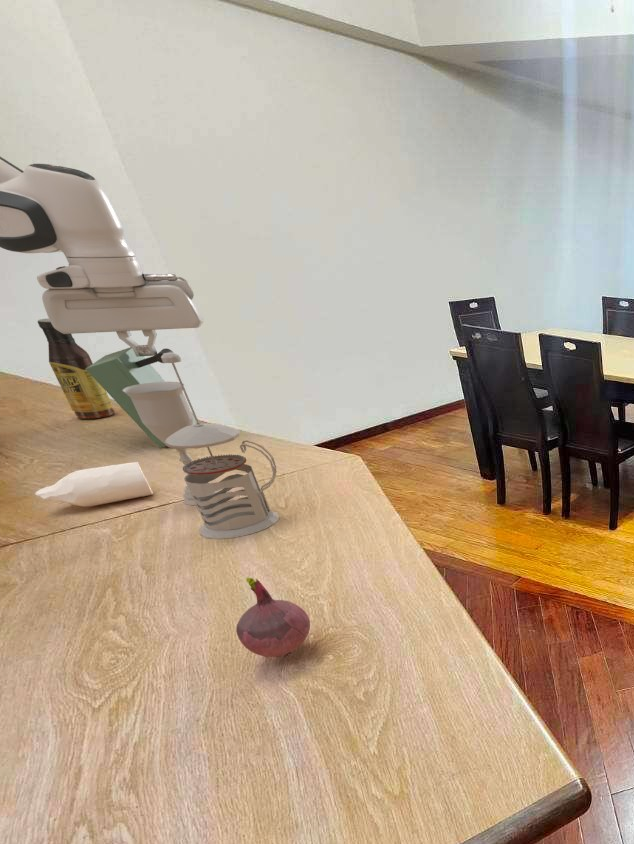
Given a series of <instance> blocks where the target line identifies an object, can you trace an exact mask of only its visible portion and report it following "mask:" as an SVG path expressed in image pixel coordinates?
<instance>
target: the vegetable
mask: <svg viewBox="0 0 634 844" xmlns="http://www.w3.org/2000/svg"><path fill="white" fill-rule="evenodd" d="M245 581H246V582H247V584H248V585H249V587H250V590H251V591H252V592H253V593H254V595H255V597H256V603H255V604H254V605H252V606H251V607H249V608H248V609H246V611H245V612H244V613H243V614H242V615H241V617H240V618H239V620H238V621H237V624H236V630H235V631H236V635H237V639H238V640H239V642H240V644H242V645H243V647H244V648H245V649H247V650H248V651H249V652H251V653H253V654H255V655H257V656H261V657H264V658H282V657H283V658H286V657H289V656H290V655H291V654H292V653H293V652H294V651H295V650H297V649H298V648H299V647H301V646H302V645H303V644H304V642H305V641H306V640H307V638H308V636H309V633H310V630H311V620H310V617H309V615H308V613H307V612H306V610H304V609H303V608H302V607H301V606H300V605H299V604H296V603H294V602H291V601H289V600H283V599H274V598H273V597H272V595H271V594H270V593H269V591H268V590H267V589H266V587H265V586H264V584H262V583H261V582H260V580H259V579H258V578H255V580H254V578H252V577H246V578H245Z"/></svg>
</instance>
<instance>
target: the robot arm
mask: <svg viewBox="0 0 634 844" xmlns="http://www.w3.org/2000/svg"><path fill="white" fill-rule="evenodd" d="M0 248H1V249H3V250H7V251H9V252H15V253H21V254H51V253H63V255H64V257H65V258H66V261H67V263H68V265H67V266H65V265H64V266H58V267H56V268H55V269H53V270H50V271H46V272H43V273H41V274H39V275H37V277H36V280H37V282H38V284H39V286H41V287H42V288H44V289H46V290H44V291H43V293H42V297H41V300H42V303H43V307H44V309H45V313H46V315H47V317H48V319H50V322H51V324H52V325H53V327H54V328H55V329H56V330H58V331H59V332H61V333H63V334H71V335H73V334H74V335H75V334H92V333H93V334H96V333H115V332H116V335H117V337H118V339H120V340H121V341H122V342H124V343H125V344H126V345H127V346H129V348H130V347H132V349H133V351H134V353H135V355H136V356H137V357H140V356H144V357H152V356H156V355H157V354H158V351H157V349H156V346H155V344H156V340H157V336H158V334H157V330H180V329H181V330H182V329H197V328H200V327H201V326H202V325H203V323H204V317H203V316H202V313H201V311H200V309H199V308H198V306H197V303H196V302H195V301H194V300H195V299H194V291H193V289H192V286H191V283H189V281H188V280H186V279H185V278H184V277H181V276H177V275H176V274H174V273H166V274H158V273H150V274H149V273H144V272H143V270H142V268H141V265H140V262H139V261H138V259H137V256H136V254H135V252H134V250H133V249H132V248H131V247H130V245H129V244H128V242H127V240H126V237H125V230H124V227H123V224H122V221H121V219H120V217H119V215H118V213H117V211H116V209H115V207H114V205H113V203H112V201H111V199H110V198H109V196H108V194H107V192H106V190H105V189H104V188H103V186H102V185H101V184H100V182H99V181H98V180H97V178H95V177H94V176H93V175H91V174H89V173H87V172H85V171H83V170H80V169H76V168H72V167H67V166H63V165H62V166H61V165H53V164H49V163H32V164H28V165H27V166H26V167H25V169H24V170H23V169H22V168H20V167H18V166H16V165H14V164H13V163H12V162H10V161H8V160H7V159H5V158H3V157H2V156H0ZM136 331H139V332H140V331H141V332H142V335H143V336H144V337H147V343H146V344H138V343H137V342H136V341H135V340H133V338H131V336H132V332H136Z"/></svg>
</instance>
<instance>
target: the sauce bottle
mask: <svg viewBox="0 0 634 844" xmlns="http://www.w3.org/2000/svg"><path fill="white" fill-rule="evenodd" d="M37 324H38V327H39V328H40V329H41V330H42V332H43V334H44V336H45V338H46V341H47V343H48V346H47V347H48V363H49V365H50V367H51V370H52V371H53V373H54V376H55V378H56V380H57V382H58V384H59V385H60V388H61V390H62V392H63V394H64V396H65V399H66V400H67V402H68V404H69V406H70V408H71V410H72V411H73V412H74V414H75V416H76V417H77V418H78V419H82V420H85V419H86V420H95V419H96V420H97V419H101V418H102V419H103V418H105V417H110V416H113V415H114V414H115V409H114V408H113V403H112V401H111V399H110V397H109V394H108V393H107V392H106V390H105V389H104V388H103V387H102V386H101V385H100V384H99V383H98V382H97V381H96V380H95V379H94V378H93V377H92V376H91V374H90V373H89V372H88V371H87V370H86V368H87V367H89V366H90V365H92V364H93V363H94V362H93V361H92V359H91V356H90V354H89V353H88V352H87V350H85V349H84V348H83V347H81V346H80V345H79V344H78V343H76V340H75V338H74V337H73V334H63V333H61V332H59V331H58V330H56V329H55V328H54V327H53V325H52V324H51V322H50V319H49V318H41V319H38V320H37Z"/></svg>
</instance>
